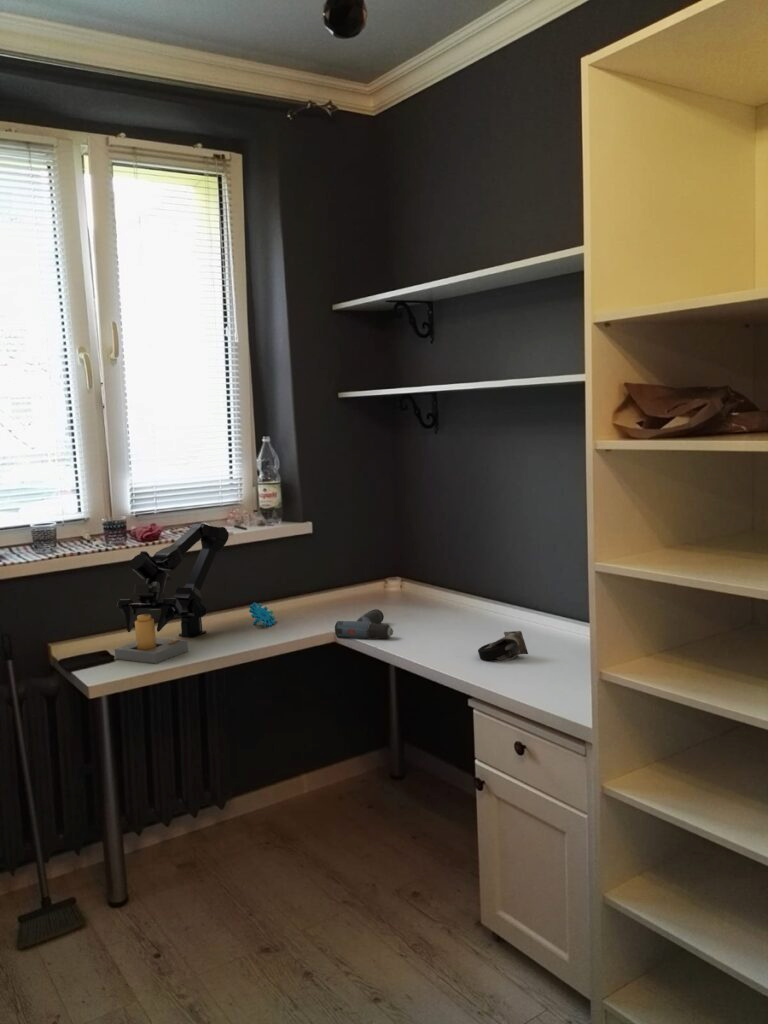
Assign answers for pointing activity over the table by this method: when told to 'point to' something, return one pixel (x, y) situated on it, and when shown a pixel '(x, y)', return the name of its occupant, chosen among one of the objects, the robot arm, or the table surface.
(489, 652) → the caster wheel
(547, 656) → the table surface
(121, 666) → the table surface
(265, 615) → the gear
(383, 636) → the power drill
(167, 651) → the block
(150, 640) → the yellow cylinder
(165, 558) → the robot arm
